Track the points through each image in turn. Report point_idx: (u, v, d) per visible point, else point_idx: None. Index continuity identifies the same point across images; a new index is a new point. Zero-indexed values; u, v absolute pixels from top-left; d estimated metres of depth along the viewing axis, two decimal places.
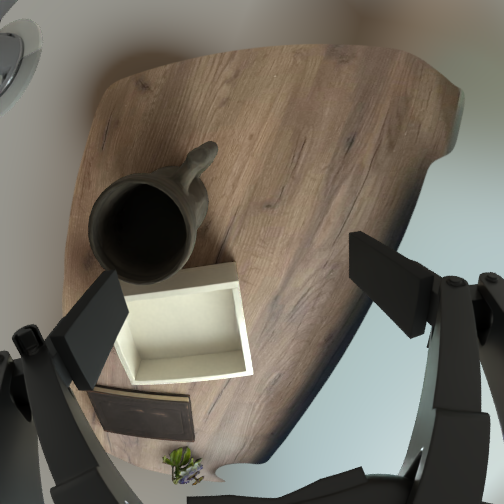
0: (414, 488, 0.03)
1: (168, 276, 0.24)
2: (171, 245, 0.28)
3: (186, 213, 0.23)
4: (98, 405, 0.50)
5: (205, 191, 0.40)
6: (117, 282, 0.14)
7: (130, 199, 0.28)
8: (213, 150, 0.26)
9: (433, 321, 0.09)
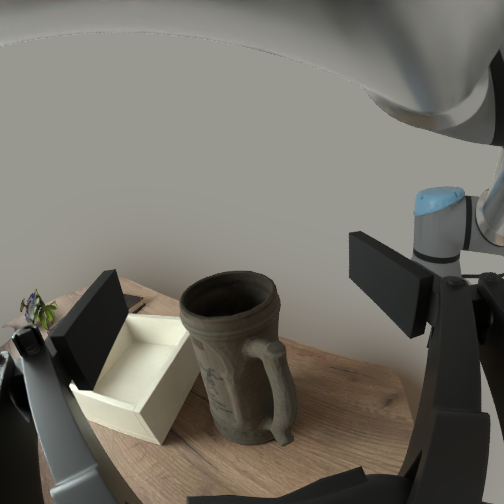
0: (414, 488, 0.03)
1: (180, 301, 0.27)
2: None
3: (222, 319, 0.23)
4: (126, 298, 0.68)
5: (249, 440, 0.29)
6: (117, 282, 0.14)
7: None
8: (281, 385, 0.21)
9: (433, 321, 0.09)
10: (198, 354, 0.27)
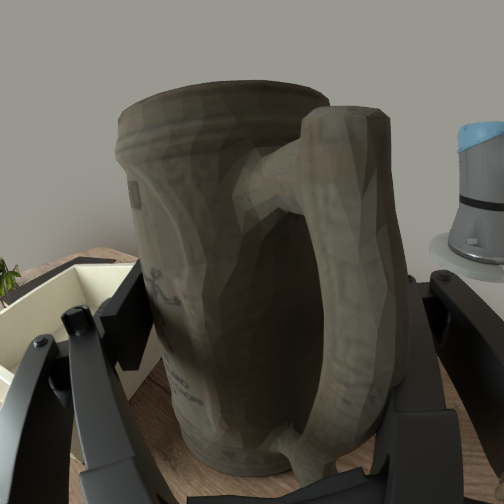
0: (388, 494, 0.03)
1: None
2: None
3: (191, 87, 0.08)
4: (96, 261, 0.52)
5: (238, 468, 0.13)
6: None
7: None
8: (374, 276, 0.05)
9: None
10: (136, 235, 0.11)
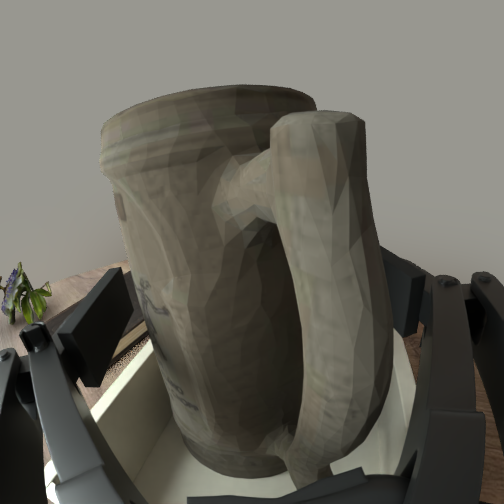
0: (410, 489, 0.03)
1: None
2: None
3: (166, 97, 0.07)
4: None
5: (237, 471, 0.13)
6: (123, 280, 0.14)
7: None
8: (348, 293, 0.05)
9: (425, 321, 0.09)
10: (125, 246, 0.11)
